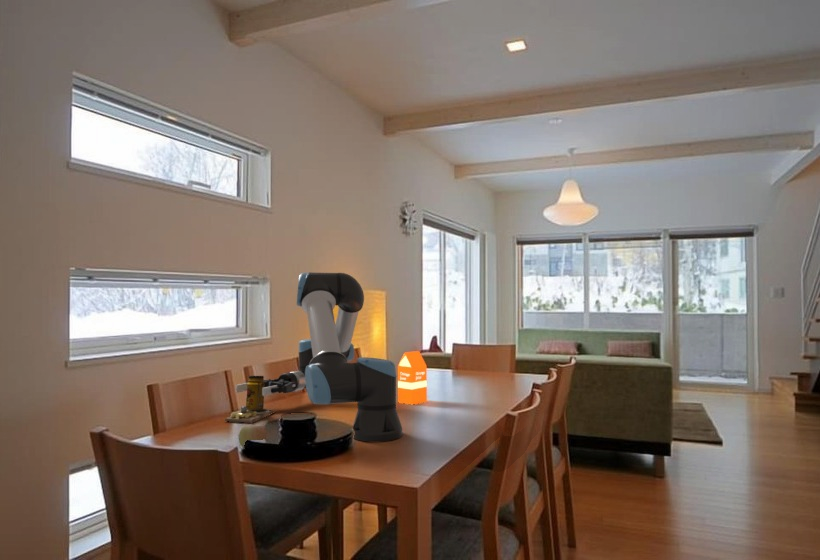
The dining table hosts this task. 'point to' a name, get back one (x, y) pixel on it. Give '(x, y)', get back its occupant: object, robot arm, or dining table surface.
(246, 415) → the gear
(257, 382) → the condiment
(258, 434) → the fruit
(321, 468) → the dining table surface
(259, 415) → the gear board
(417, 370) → the orange juice
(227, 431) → the dining table surface
